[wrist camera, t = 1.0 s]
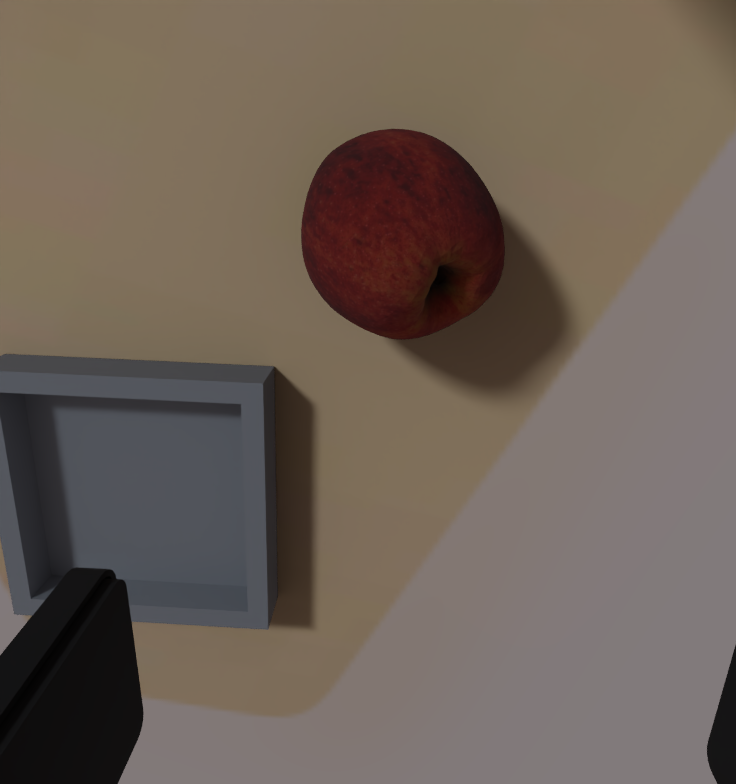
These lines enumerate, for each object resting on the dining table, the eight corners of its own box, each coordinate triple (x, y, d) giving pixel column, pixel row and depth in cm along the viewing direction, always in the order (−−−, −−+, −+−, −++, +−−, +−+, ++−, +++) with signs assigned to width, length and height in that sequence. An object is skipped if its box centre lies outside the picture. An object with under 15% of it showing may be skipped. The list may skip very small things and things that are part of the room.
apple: (371, 345, 29) (361, 405, 22) (277, 196, 27) (231, 204, 20) (514, 262, 28) (558, 294, 20) (426, 97, 26) (438, 64, 18)
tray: (5, 354, 30) (-30, 369, 28) (274, 366, 30) (263, 383, 27) (41, 583, 34) (14, 614, 32) (277, 596, 34) (268, 629, 32)
